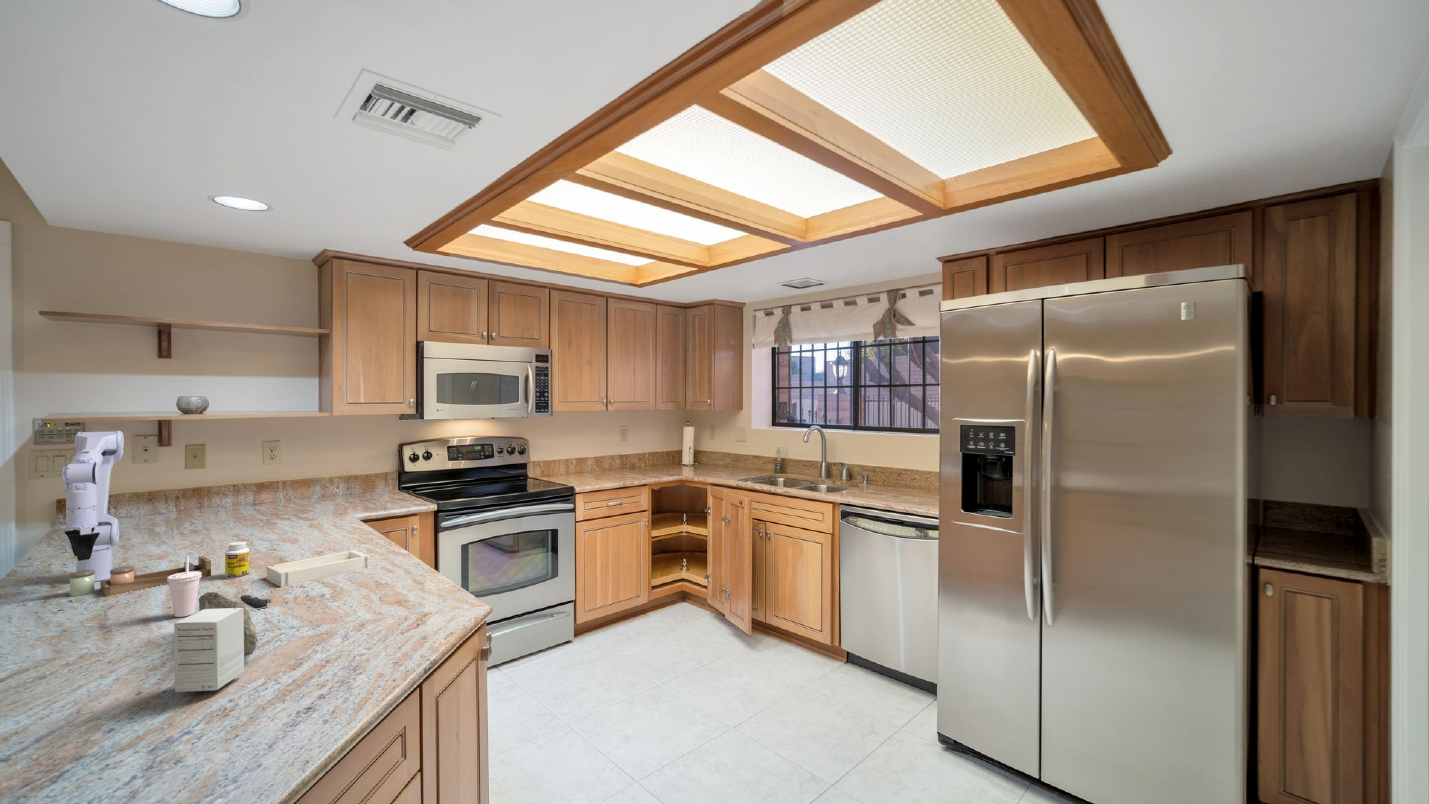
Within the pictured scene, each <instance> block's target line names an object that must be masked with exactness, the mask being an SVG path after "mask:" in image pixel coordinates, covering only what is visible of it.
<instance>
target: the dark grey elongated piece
mask: <svg viewBox="0 0 1429 804" xmlns="http://www.w3.org/2000/svg"><path fill="white" fill-rule="evenodd" d="M240 601H241V602H244V603H246V604H248V605H251V606H253V608H255V609H256V611H257V610H259V611H261V610H260V609H264V610H265V608H266V609H268V604H269V603H270V604H271V602H272V599H271V598H266V599H261V598H259V597H257V596H255V595H249V594H244V595H243V594H242V595H241V596H240Z"/></svg>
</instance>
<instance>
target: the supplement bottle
mask: <svg viewBox="0 0 1429 804" xmlns="http://www.w3.org/2000/svg"><path fill="white" fill-rule="evenodd" d="M224 555H225V556H224V557H225V559H224V563H225V566H224V567H225V568H224V569H225V570H224V571H225V572H224V573H225V574H224V577H225V579H226V580H236V579H242V578H246V577H248V576H249V575H250V548H248V547H247V541H235V542H231V543H229V544H228V549H227V550H226V551H225V553H224Z"/></svg>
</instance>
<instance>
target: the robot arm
mask: <svg viewBox="0 0 1429 804" xmlns="http://www.w3.org/2000/svg"><path fill="white" fill-rule="evenodd" d="M124 438H125V437H124V432H122V431H121V430H117V431H86V432H85V431H83V432H82V431H78V432H77V433H76V434H75V436H74V449H75V450H74V451H75V452H76V453H75V454H74V455H73V458H72V460H71V462H70V463H69V464H68V465H67V466H66V465H64V466H63V468H62V472H61V473H62V475H61V476H62V482H63V491H64V493H65V515H66V516H65V519H66V520H65V521H66V522H65V524H64V525H62V524H61V525H59V529H60V530H65V529H66V530H65V531H64V535H66V536H67V545H68V548H69V549H71V551H72V554H73V556H74V557H76V558H75V560H76V563H75V564H76V568H75V569H76V571H82V570H95V574H94V578H95V582H100V581H106V580H110V570H111V569H113V547H114V546H116V545H117V544H118V543H119V539H120V522H119V520H118V519H117V518H116V517H114V516H112V515H109V514H108V507H109V498H110V497H109V496H110V487H111V486H110V485H111V473H112V469H113V466H114V464H115V463H117V462H120V461H121V460H122V457H123V455H124V447H125V446H124V445H125V439H124ZM76 571H75V572H76Z"/></svg>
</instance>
